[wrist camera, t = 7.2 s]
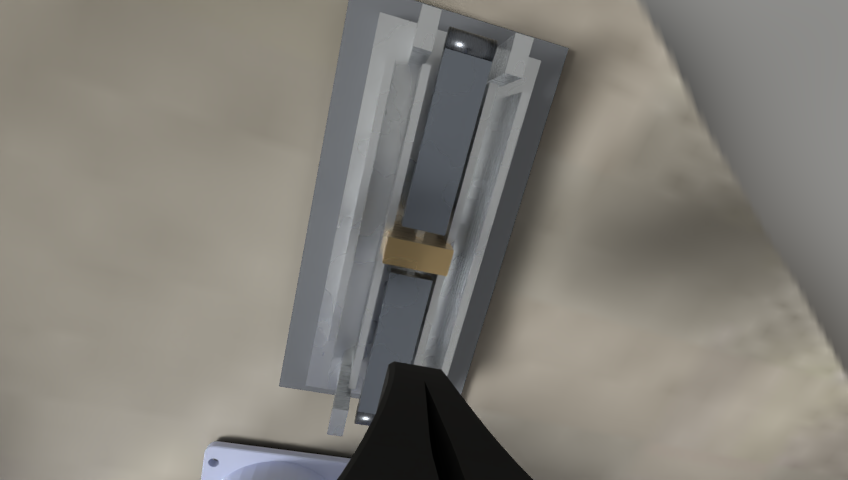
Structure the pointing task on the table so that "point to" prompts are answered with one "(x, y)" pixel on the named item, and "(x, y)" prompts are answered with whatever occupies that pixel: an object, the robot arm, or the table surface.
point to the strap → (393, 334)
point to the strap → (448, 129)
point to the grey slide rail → (387, 194)
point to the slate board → (335, 165)
